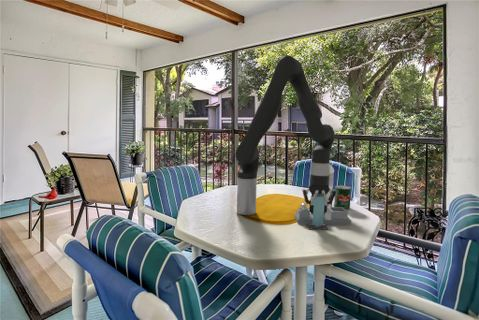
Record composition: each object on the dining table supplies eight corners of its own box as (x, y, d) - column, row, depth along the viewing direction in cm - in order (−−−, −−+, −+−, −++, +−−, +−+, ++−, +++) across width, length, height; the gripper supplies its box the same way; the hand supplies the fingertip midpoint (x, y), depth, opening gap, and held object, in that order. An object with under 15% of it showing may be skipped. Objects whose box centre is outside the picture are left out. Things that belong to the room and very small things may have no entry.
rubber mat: (308, 229, 124) (308, 228, 124) (306, 225, 129) (306, 224, 129) (328, 230, 124) (328, 229, 124) (325, 225, 129) (325, 224, 129)
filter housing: (297, 223, 131) (298, 211, 130) (294, 216, 140) (295, 205, 139) (351, 225, 130) (351, 212, 129) (344, 217, 139) (345, 206, 138)
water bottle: (332, 212, 146) (335, 162, 142) (317, 211, 147) (320, 161, 144) (331, 208, 153) (333, 160, 149) (317, 207, 154) (319, 159, 150)
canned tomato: (342, 204, 160) (343, 184, 158) (353, 208, 153) (354, 187, 151) (330, 206, 156) (331, 185, 155) (341, 210, 149) (342, 189, 148)
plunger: (300, 215, 132) (301, 204, 132) (299, 213, 135) (300, 203, 134) (307, 216, 132) (307, 205, 131) (306, 213, 135) (306, 203, 134)
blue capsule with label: (311, 224, 124) (312, 194, 122) (313, 221, 128) (315, 191, 126) (321, 226, 122) (323, 195, 120) (324, 223, 126) (326, 193, 124)
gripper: (334, 171, 127) (332, 211, 129) (300, 171, 127) (299, 210, 130) (340, 175, 119) (337, 216, 122) (304, 174, 120) (302, 216, 122)
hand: (317, 213), depth 126 cm, fingers closed on blue capsule with label, 4 cm apart
